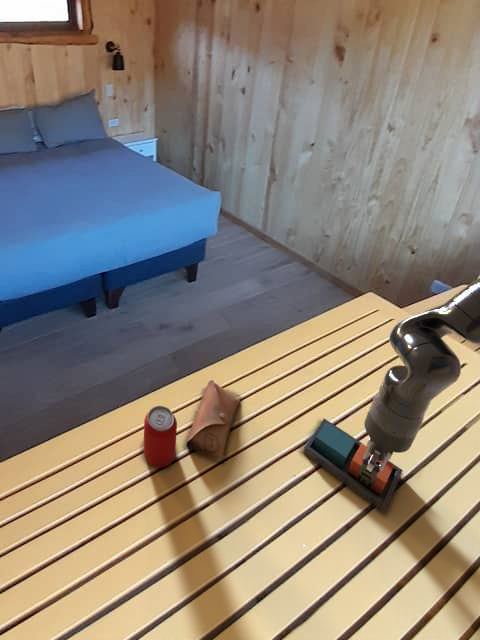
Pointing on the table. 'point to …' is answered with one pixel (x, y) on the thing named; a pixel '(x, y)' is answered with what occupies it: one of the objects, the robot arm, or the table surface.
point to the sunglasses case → (213, 421)
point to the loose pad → (382, 475)
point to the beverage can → (160, 436)
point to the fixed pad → (334, 445)
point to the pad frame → (348, 478)
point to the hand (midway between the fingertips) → (369, 472)
